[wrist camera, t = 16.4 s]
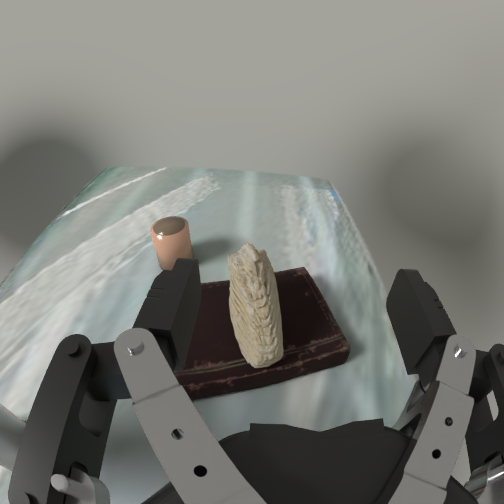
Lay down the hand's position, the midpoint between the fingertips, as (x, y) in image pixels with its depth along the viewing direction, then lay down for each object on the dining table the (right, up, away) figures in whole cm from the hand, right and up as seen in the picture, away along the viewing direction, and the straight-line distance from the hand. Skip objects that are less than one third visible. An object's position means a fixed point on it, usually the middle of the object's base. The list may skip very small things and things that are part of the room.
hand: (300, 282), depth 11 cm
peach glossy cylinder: (-17, -1, +44) cm, 47 cm away
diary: (-3, -12, +31) cm, 34 cm away
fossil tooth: (-2, -9, +27) cm, 29 cm away
